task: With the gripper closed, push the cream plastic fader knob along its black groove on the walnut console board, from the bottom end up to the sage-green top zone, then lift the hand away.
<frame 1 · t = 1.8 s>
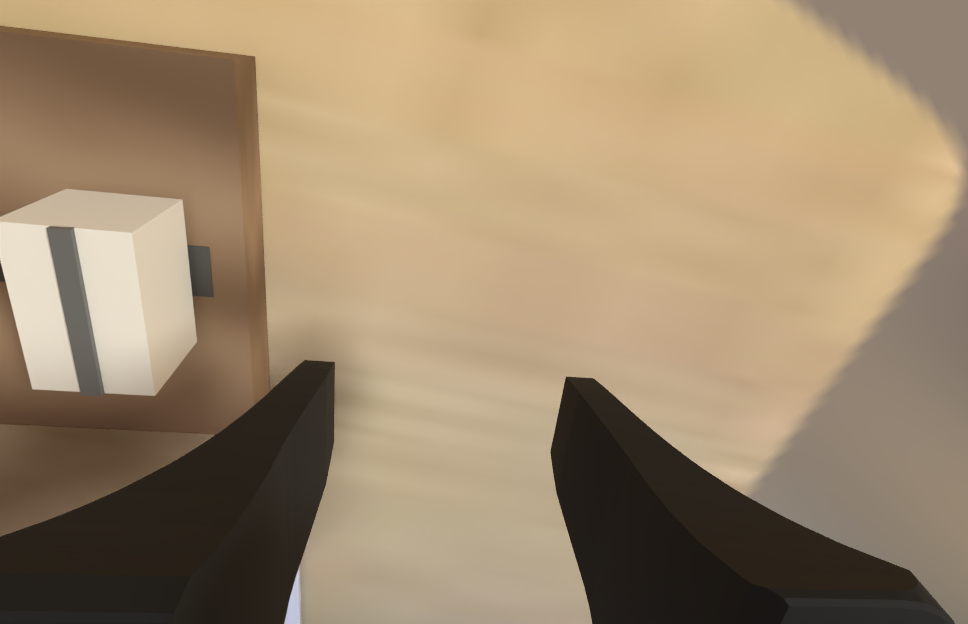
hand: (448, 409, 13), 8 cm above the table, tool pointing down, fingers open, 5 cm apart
fader knob: (108, 291, 16), point 4 cm above the table, slide at 0.0 cm
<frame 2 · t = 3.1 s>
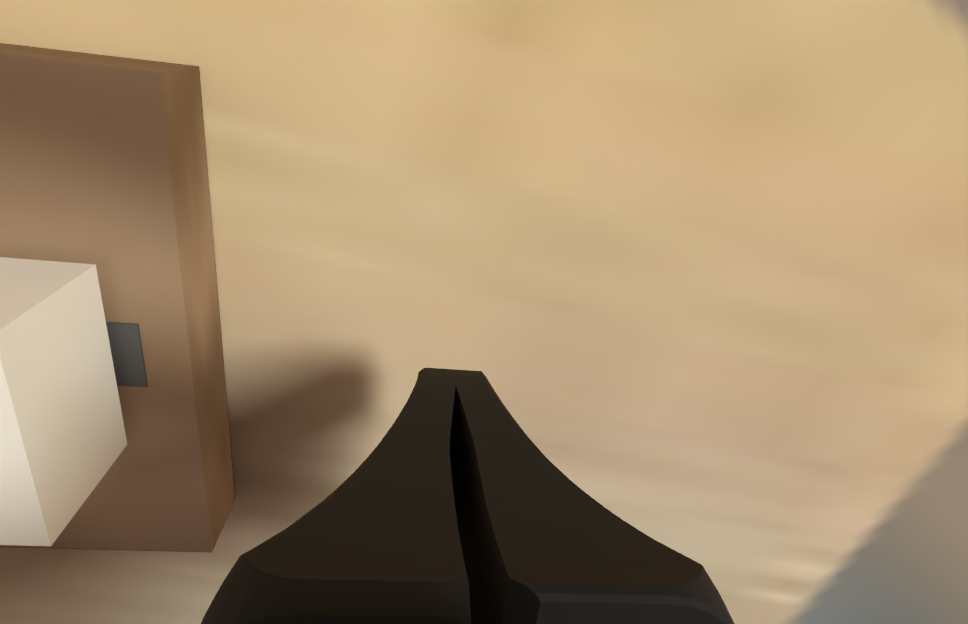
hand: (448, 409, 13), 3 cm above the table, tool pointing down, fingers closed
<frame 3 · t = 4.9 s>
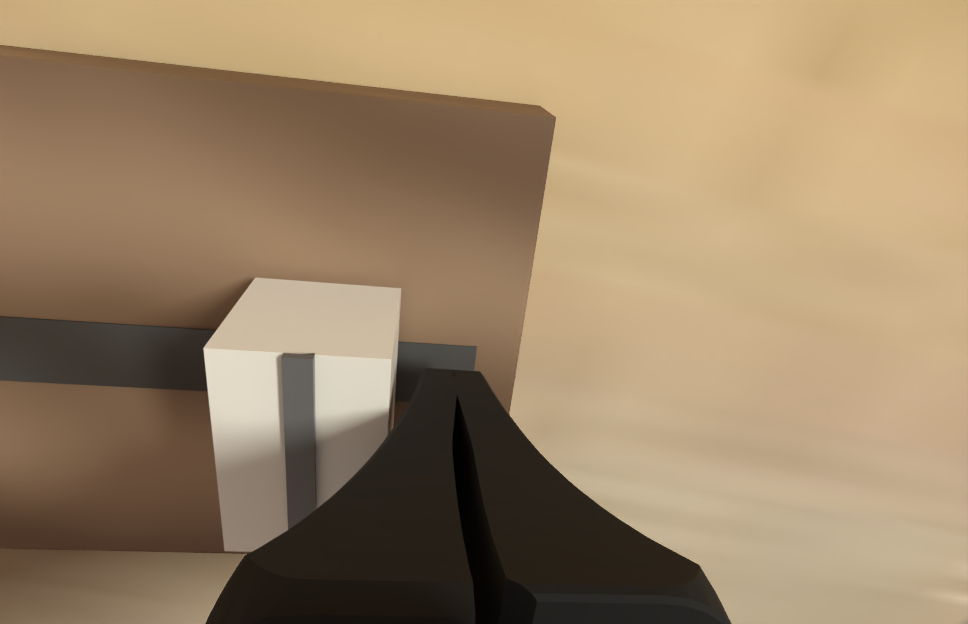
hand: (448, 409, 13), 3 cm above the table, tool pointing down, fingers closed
fader knob: (316, 415, 12), point 4 cm above the table, slide at 1.3 cm, touching gripper
fader console: (69, 310, 15), on the table
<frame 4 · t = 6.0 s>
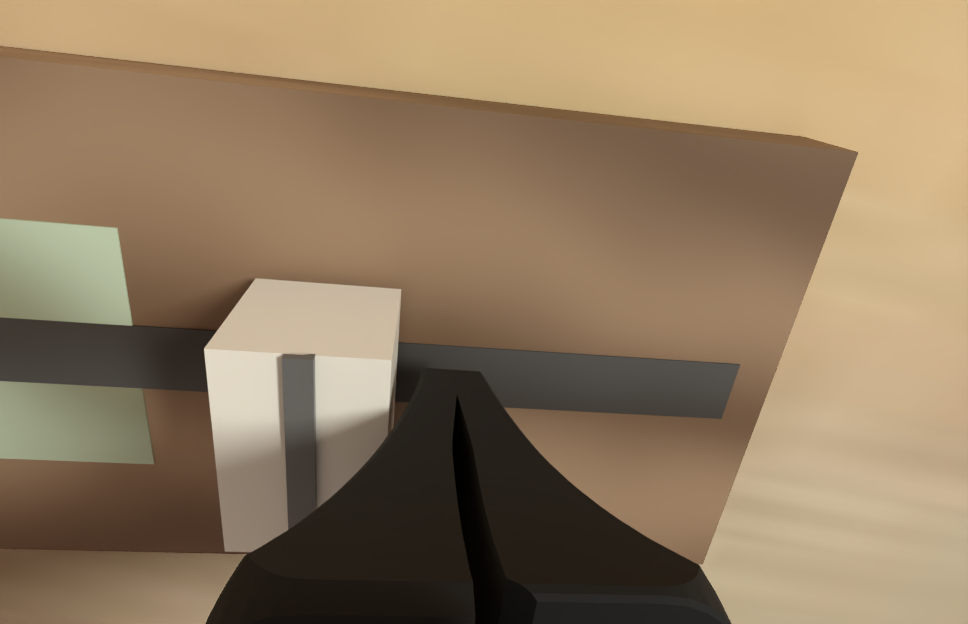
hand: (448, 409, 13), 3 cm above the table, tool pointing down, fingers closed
fader knob: (316, 416, 12), point 4 cm above the table, slide at 7.8 cm, touching gripper
fader console: (334, 328, 15), on the table
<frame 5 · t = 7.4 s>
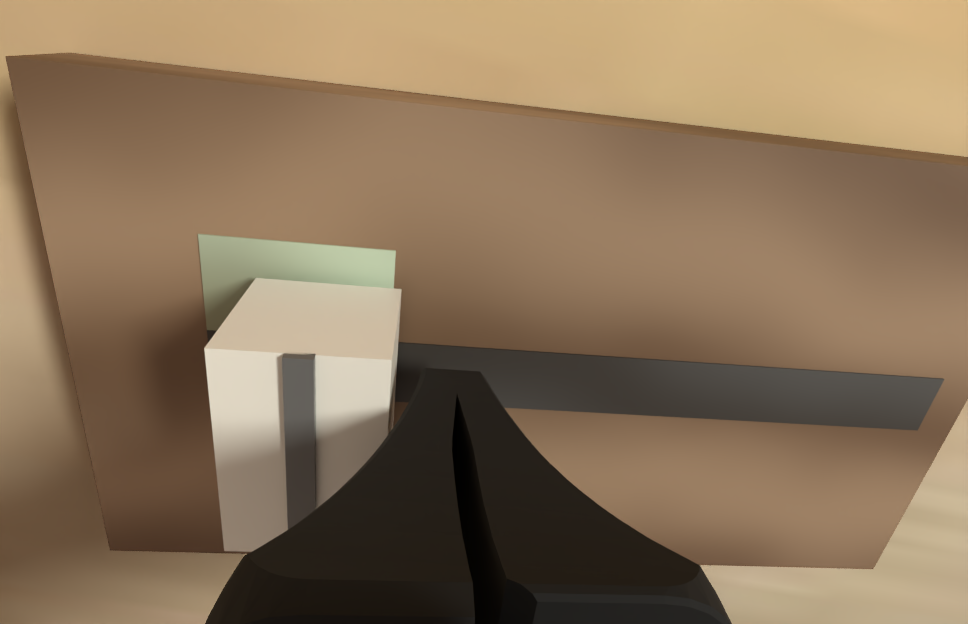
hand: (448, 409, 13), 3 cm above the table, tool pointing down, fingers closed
fader knob: (316, 415, 12), point 4 cm above the table, slide at 13.3 cm, touching gripper
fader console: (542, 342, 16), on the table
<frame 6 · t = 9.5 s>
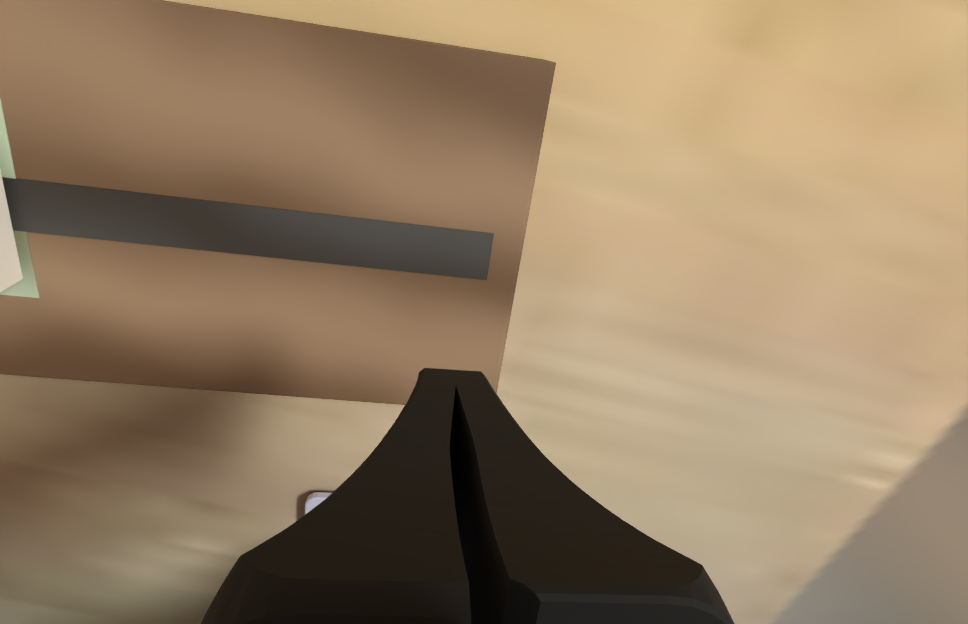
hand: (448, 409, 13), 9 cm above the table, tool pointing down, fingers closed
fader console: (190, 203, 19), on the table
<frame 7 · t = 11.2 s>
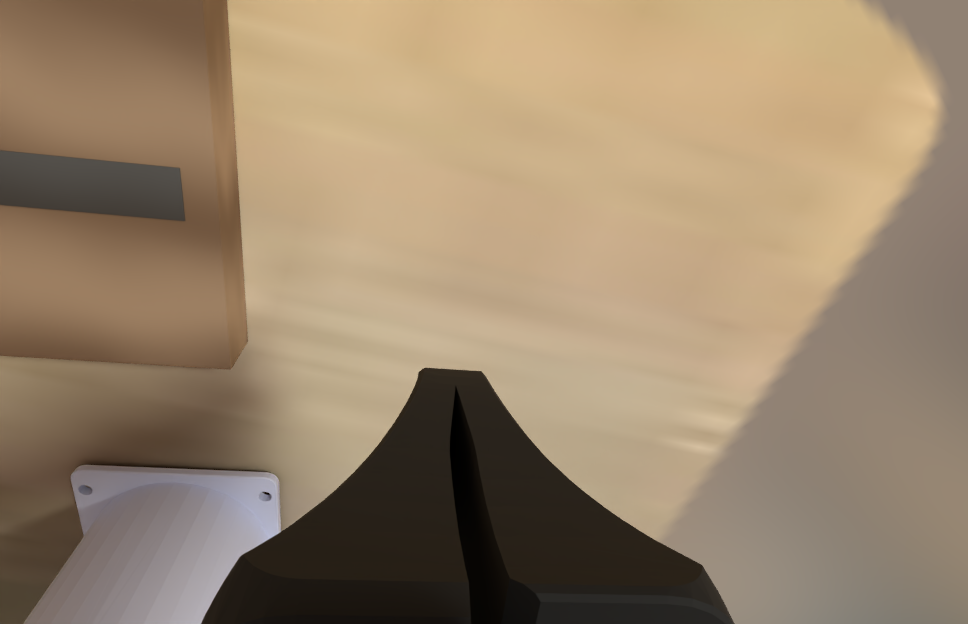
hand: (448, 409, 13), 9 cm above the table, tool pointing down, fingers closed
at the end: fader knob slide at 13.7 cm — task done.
